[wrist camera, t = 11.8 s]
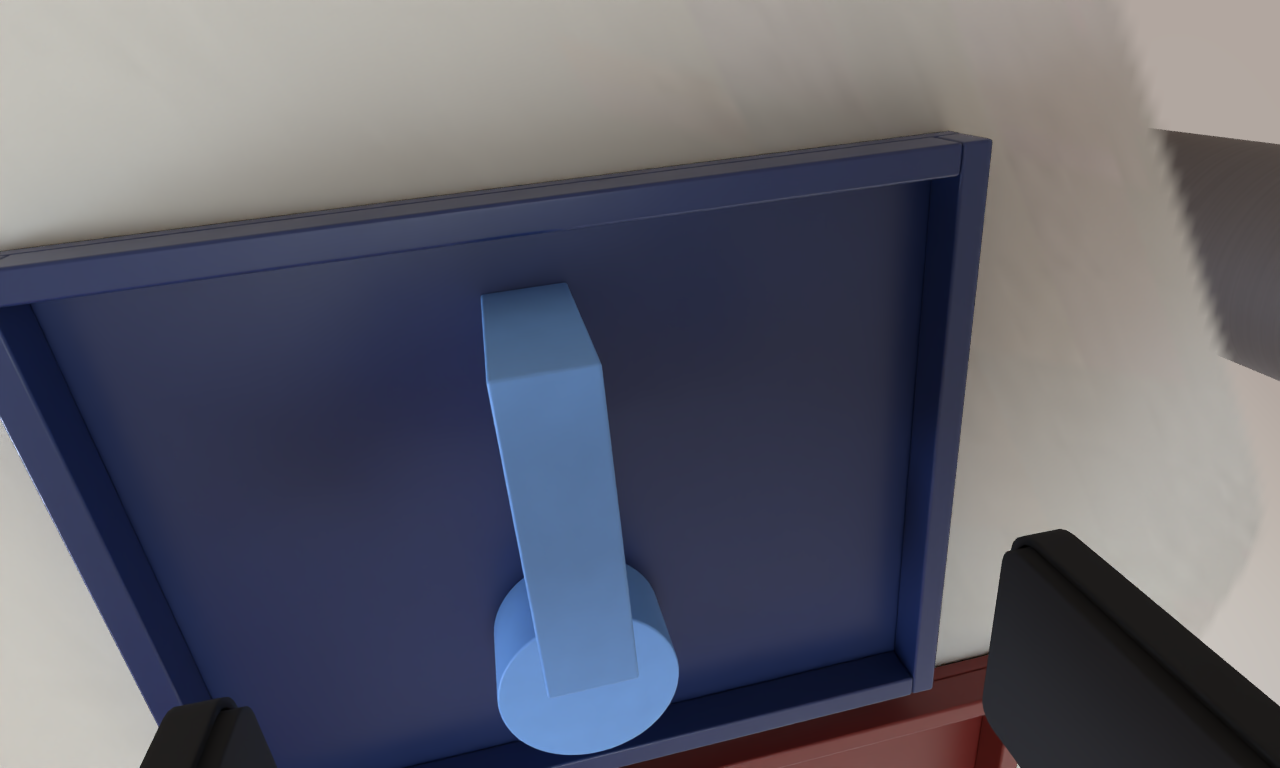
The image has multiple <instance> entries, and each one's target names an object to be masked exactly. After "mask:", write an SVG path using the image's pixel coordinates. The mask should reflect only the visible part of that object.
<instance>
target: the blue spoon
mask: <svg viewBox="0 0 1280 768" xmlns="http://www.w3.org/2000/svg"><path fill="white" fill-rule="evenodd" d="M481 310H482V325H483V340H484V354H485V369H486V384H487V389H488V394H489V399H490V405H491V410H492V415H493V420H494V425H495V430H496V435H497V441H498V446H499V451H500V456H501V461H502V466H503V471H504V477H505V482H506V487H507V492H508V497H509V502H510V507H511V513H512V518H513V523H514V528H515V533H516V538H517V543H518V549H519V554H520V559H521V564H522V569H523V574H524V578H523V579H522V580H520V581H519V582H518V583H517V584H516V585H515V586H514V587H513V588H512V589H511V590H510V592H509V593H508V594H507V596H506V597H505V598H504V600H503V602H502V604H501V605H500V607H499V610H498V613H497V615H496V619H495V624H494V645H495V665H496V684H497V701H498V708H499V711H500V714H501V717H502V719H503V721H504V723H505V725H506V726H507V727H508V729H509V730H510V731H511V732H512V733H513V734H514V735H515V736H516V737H517V738H518V739H519V740H521V741H523V742H524V743H526V744H527V745H529V746H531V747H534V748H536V749H539V750H542V751H545V752H549V753H554V754H563V755H581V754H590V753H595V752H600V751H604V750H607V749H610V748H613V747H616V746H618V745H621V744H623V743H625V742H627V741H629V740H631V739H633V738H635V737H636V736H638V735H639V734H641V733H642V732H644V731H645V730H646V729H648V728H649V727H650V726H651V725H652V724H653V723H654V722H655V721H657V720H658V719H659V717H660V716H661V715H662V714H663V713H664V711H665V710H666V708H667V707H668V705H669V704H670V702H671V700H672V698H673V696H674V694H675V691H676V688H677V684H678V678H679V665H678V659H677V656H676V653H675V650H674V647H673V644H672V641H671V638H670V636H669V633H668V630H667V627H666V624H665V621H664V618H663V615H662V613H661V610H660V607H659V604H658V601H657V598H656V595H655V593H654V590H653V589H652V587H651V585H650V583H649V582H648V581H647V580H646V579H645V577H644V576H643V575H641V574H640V573H639V572H638V571H637V570H635V569H634V568H632V567H631V566H629V565H627V564H626V563H625V555H624V546H623V538H622V530H621V521H620V513H619V505H618V496H617V488H616V480H615V471H614V463H613V455H612V446H611V438H610V430H609V421H608V413H607V404H606V396H605V388H604V379H603V371H602V364H601V362H600V360H599V357H598V355H597V353H596V350H595V348H594V346H593V343H592V341H591V339H590V336H589V334H588V332H587V329H586V327H585V325H584V322H583V320H582V318H581V315H580V313H579V311H578V308H577V306H576V304H575V301H574V299H573V297H572V294H571V292H570V290H569V287H568V285H567V283H557V284H550V285H543V286H537V287H530V288H523V289H516V290H510V291H503V292H496V293H489V294H483V295H481Z"/></svg>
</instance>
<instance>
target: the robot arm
mask: <svg viewBox="0 0 1280 768" xmlns="http://www.w3.org/2000/svg"><path fill="white" fill-rule="evenodd" d="M982 704H983V710H984V713H985V716H986V718H987V721H988V723H989V725H990V726H991V728H992V729H993V731H994V732H995V734H996V735H997V736H998V738H999V739H1000V740H1001V742H1002V743H1003V744H1004V746H1005V747H1006V748H1007V750H1008V751H1009V753H1010V754H1011V755H1012V757H1013V758H1014V759H1015V761H1016V762H1017V763H1018V765H1019V766H1020V767H1021V768H1280V706H1279V705H1277V704H1276V703H1275V702H1274V701H1273V700H1271V699H1270V698H1269V697H1268V696H1267V695H1265V694H1264V693H1263V692H1262V691H1261V690H1259V689H1258V688H1257V687H1256V686H1255V685H1253V684H1252V683H1251V682H1250V681H1249V680H1247V679H1246V678H1245V677H1244V676H1243V675H1241V674H1240V673H1239V672H1238V671H1237V670H1235V669H1234V668H1233V667H1232V666H1231V665H1229V664H1228V663H1227V662H1226V661H1224V660H1223V659H1222V658H1221V657H1220V656H1219V655H1217V654H1216V653H1215V652H1214V651H1213V650H1211V649H1210V648H1209V647H1208V646H1206V645H1205V644H1204V643H1203V642H1202V641H1201V640H1199V639H1198V638H1197V637H1196V636H1195V635H1193V634H1192V633H1191V632H1190V631H1189V630H1187V629H1186V628H1185V627H1184V626H1183V625H1181V624H1180V623H1179V622H1178V621H1177V620H1175V619H1174V618H1173V617H1172V616H1171V615H1169V614H1168V613H1167V612H1166V611H1165V610H1163V609H1162V608H1161V607H1160V606H1159V605H1157V604H1156V603H1155V602H1154V601H1153V600H1151V599H1150V598H1149V597H1148V596H1147V595H1145V594H1144V593H1143V592H1142V591H1141V590H1139V589H1138V588H1137V587H1136V586H1135V585H1133V584H1132V583H1131V582H1130V581H1129V580H1127V579H1126V578H1125V577H1124V576H1123V575H1121V574H1120V573H1119V572H1118V571H1117V570H1115V569H1114V568H1113V567H1112V566H1111V565H1109V564H1108V563H1107V562H1106V561H1105V560H1103V559H1102V558H1101V557H1100V556H1099V555H1097V554H1096V553H1095V552H1094V551H1093V550H1091V549H1090V548H1089V547H1088V546H1087V545H1085V544H1084V543H1083V542H1082V541H1081V540H1079V539H1078V538H1077V537H1076V536H1075V535H1073V534H1072V533H1070V532H1068V531H1067V530H1062V529H1057V530H1052V531H1047V532H1042V533H1037V534H1032V535H1027V536H1022V537H1019V538H1017V539H1016V540H1015V541H1014V542H1013V545H1012V548H1011V551H1007V552H1006V553H1005V554H1004V556H1003V560H1002V566H1001V573H1000V580H999V586H998V593H997V600H996V607H995V614H994V621H993V628H992V634H991V641H990V648H989V655H988V662H987V669H986V676H985V682H984V689H983V696H982ZM140 768H277V765H276V763H275V761H274V758H273V756H272V754H271V751H270V749H269V747H268V744H267V742H266V740H265V737H264V735H263V733H262V730H261V728H260V726H259V723H258V721H257V719H256V716H255V714H254V712H253V711H252V709H251V708H250V707H248V706H244V707H239V708H238V706H237V705H236V703H235V702H234V700H233V699H231V698H230V697H222V698H217V699H212V700H207V701H202V702H197V703H192V704H187V705H182V706H177V707H173V708H172V709H170V710H169V711H168V712H167V713H166V715H165V717H164V718H163V720H162V722H161V724H160V726H159V728H158V730H157V732H156V734H155V736H154V739H153V741H152V743H151V745H150V747H149V749H148V751H147V753H146V755H145V757H144V759H143V762H142V764H141V766H140Z"/></svg>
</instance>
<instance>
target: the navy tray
mask: <svg viewBox="0 0 1280 768" xmlns="http://www.w3.org/2000/svg"><path fill="white" fill-rule="evenodd" d="M991 151H992V140H991V139H988V138H983V137H977V136H972V135H966V134H960V133H957V132H952V131H945V132H937V133H929V134H921V135H914V136H906V137H898V138H890V139H882V140H874V141H866V142H859V143H851V144H843V145H835V146H827V147H819V148H811V149H803V150H796V151H788V152H780V153H772V154H764V155H756V156H748V157H740V158H733V159H725V160H717V161H709V162H701V163H693V164H685V165H677V166H670V167H662V168H654V169H646V170H638V171H630V172H622V173H614V174H607V175H599V176H591V177H583V178H575V179H567V180H559V181H551V182H544V183H536V184H528V185H520V186H512V187H504V188H496V189H488V190H481V191H473V192H465V193H457V194H449V195H441V196H433V197H426V198H418V199H410V200H402V201H394V202H386V203H378V204H370V205H363V206H355V207H347V208H339V209H331V210H323V211H315V212H307V213H300V214H292V215H284V216H276V217H268V218H260V219H252V220H244V221H237V222H229V223H221V224H213V225H205V226H197V227H189V228H181V229H174V230H166V231H158V232H150V233H142V234H134V235H126V236H118V237H111V238H103V239H95V240H87V241H79V242H71V243H63V244H56V245H48V246H40V247H32V248H24V249H16V250H8V251H0V419H1V421H2V423H3V425H4V427H5V429H6V431H7V433H8V435H9V437H10V439H11V441H12V443H13V445H14V447H15V449H16V450H17V452H18V454H19V456H20V458H21V460H22V462H23V464H24V466H25V468H26V470H27V472H28V474H29V476H30V478H31V480H32V482H33V484H34V485H35V487H36V489H37V491H38V493H39V495H40V497H41V499H42V501H43V503H44V505H45V507H46V509H47V511H48V513H49V515H50V517H51V519H52V520H53V522H54V524H55V526H56V528H57V530H58V532H59V534H60V536H61V538H62V540H63V542H64V544H65V546H66V548H67V550H68V552H69V554H70V556H71V557H72V559H73V561H74V563H75V565H76V567H77V569H78V571H79V573H80V575H81V577H82V579H83V581H84V583H85V585H86V587H87V589H88V591H89V592H90V594H91V596H92V598H93V600H94V602H95V604H96V606H97V608H98V610H99V612H100V614H101V616H102V618H103V620H104V622H105V624H106V626H107V627H108V629H109V631H110V633H111V635H112V637H113V639H114V641H115V643H116V645H117V647H118V649H119V651H120V653H121V655H122V657H123V659H124V661H125V662H126V664H127V666H128V668H129V670H130V672H131V674H132V676H133V678H134V680H135V682H136V684H137V686H138V688H139V690H140V692H141V694H142V696H143V698H144V699H145V701H146V703H147V705H148V707H149V709H150V711H151V713H152V715H153V717H154V719H155V721H156V723H157V725H158V727H159V726H160V724H161V722H162V720H163V718H164V717H165V715H166V713H167V712H168V711H169V710H170V709H172V708H173V707H177V706H182V705H187V704H192V703H197V702H202V701H207V700H212V699H217V698H222V697H230V698H231V699H233V700H234V702H235V703H236V705H237V706H238V708H239V707H244V706H248V707H250V708H251V709H252V711H253V712H254V714H255V716H256V719H257V721H258V723H259V726H260V728H261V730H262V733H263V735H264V737H265V740H266V742H267V744H268V747H269V749H270V751H271V754H272V756H273V758H274V761H275V763H276V765H277V768H619V767H623V766H627V765H631V764H635V763H639V762H643V761H647V760H651V759H655V758H659V757H663V756H667V755H671V754H675V753H679V752H683V751H687V750H691V749H695V748H699V747H703V746H707V745H711V744H715V743H719V742H723V741H727V740H731V739H735V738H739V737H743V736H747V735H751V734H755V733H759V732H763V731H767V730H771V729H775V728H779V727H783V726H787V725H791V724H795V723H799V722H803V721H807V720H811V719H815V718H819V717H823V716H827V715H831V714H835V713H839V712H843V711H847V710H851V709H855V708H859V707H863V706H867V705H871V704H875V703H879V702H883V701H887V700H891V699H895V698H899V697H903V696H907V695H910V694H911V692H912V693H918V692H922V691H926V690H930V689H932V687H933V678H934V669H935V660H936V651H937V642H938V632H939V623H940V614H941V605H942V596H943V587H944V578H945V569H946V560H947V551H948V542H949V533H950V523H951V514H952V505H953V496H954V487H955V478H956V469H957V460H958V451H959V442H960V433H961V423H962V414H963V405H964V396H965V387H966V378H967V369H968V360H969V351H970V342H971V333H972V324H973V314H974V305H975V296H976V287H977V278H978V269H979V260H980V251H981V242H982V233H983V224H984V215H985V205H986V196H987V187H988V178H989V169H990V160H991ZM557 283H567V285H568V287H569V290H570V292H571V294H572V297H573V299H574V301H575V304H576V306H577V308H578V311H579V313H580V315H581V318H582V320H583V322H584V325H585V327H586V329H587V332H588V334H589V336H590V339H591V341H592V343H593V346H594V348H595V350H596V353H597V355H598V357H599V360H600V362H601V364H602V371H603V379H604V388H605V396H606V404H607V413H608V421H609V430H610V438H611V446H612V455H613V463H614V471H615V480H616V488H617V496H618V505H619V513H620V521H621V530H622V538H623V546H624V555H625V563H626V564H627V565H629V566H631V567H632V568H634V569H635V570H637V571H638V572H639V573H640V574H641V575H643V576H644V577H645V579H646V580H647V581H648V582H649V583H650V585H651V587H652V589H653V590H654V593H655V595H656V598H657V601H658V604H659V607H660V610H661V613H662V615H663V618H664V621H665V624H666V627H667V630H668V633H669V636H670V638H671V641H672V644H673V647H674V650H675V653H676V656H677V659H678V665H679V678H678V684H677V688H676V691H675V694H674V696H673V698H672V700H671V702H670V704H669V705H668V707H667V708H666V710H665V711H664V713H663V714H662V715H661V716H660V717H659V719H658V720H657V721H655V722H654V723H653V724H652V725H651V726H650V727H649V728H648V729H646V730H645V731H644V732H642V733H641V734H639V735H638V736H636V737H635V738H633V739H631V740H629V741H627V742H625V743H623V744H621V745H618V746H616V747H613V748H610V749H607V750H604V751H600V752H595V753H590V754H581V755H563V754H554V753H549V752H545V751H542V750H539V749H536V748H534V747H531V746H529V745H527V744H526V743H524V742H523V741H521V740H519V739H518V738H517V737H516V736H515V735H514V734H513V733H512V732H511V731H510V730H509V729H508V727H507V726H506V725H505V723H504V721H503V719H502V717H501V714H500V711H499V708H498V701H497V684H496V665H495V645H494V624H495V619H496V615H497V613H498V610H499V607H500V605H501V604H502V602H503V600H504V598H505V597H506V596H507V594H508V593H509V592H510V590H511V589H512V588H513V587H514V586H515V585H516V584H517V583H518V582H519V581H520V580H522V579H523V578H524V574H523V569H522V564H521V559H520V554H519V549H518V543H517V538H516V533H515V528H514V523H513V518H512V513H511V507H510V502H509V497H508V492H507V487H506V482H505V477H504V471H503V466H502V461H501V456H500V451H499V446H498V441H497V435H496V430H495V425H494V420H493V415H492V410H491V405H490V399H489V394H488V389H487V384H486V369H485V354H484V340H483V325H482V310H481V295H483V294H489V293H496V292H503V291H510V290H516V289H523V288H530V287H537V286H543V285H550V284H557Z"/></svg>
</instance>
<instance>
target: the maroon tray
mask: <svg viewBox="0 0 1280 768" xmlns="http://www.w3.org/2000/svg"><path fill="white" fill-rule="evenodd" d="M987 662H988V655H985V656H981V657H977V658H973V659H969V660H965V661H961V662H957V663H952V664H948V665H944V666H940V667H936V668H935V669H934V678H933V687H932V689H930V690H926V691H922V692H918V693H912V692H911V694H910V695H907V696H903V697H899V698H895V699H891V700H887V701H883V702H879V703H875V704H871V705H867V706H863V707H859V708H855V709H851V710H847V711H843V712H839V713H835V714H831V715H827V716H823V717H819V718H815V719H811V720H807V721H803V722H799V723H795V724H791V725H787V726H783V727H779V728H775V729H771V730H767V731H763V732H759V733H755V734H751V735H747V736H743V737H739V738H735V739H731V740H727V741H723V742H719V743H715V744H711V745H707V746H703V747H699V748H695V749H691V750H687V751H683V752H679V753H675V754H671V755H667V756H663V757H659V758H655V759H651V760H647V761H643V762H639V763H635V764H631V765H627V766H623V767H619V768H1016V767H1017V762H1016V761H1015V759H1014V758H1013V757H1012V755H1011V754H1010V753H1009V751H1008V750H1007V748H1006V747H1005V746H1004V744H1003V743H1002V742H1001V740H1000V739H999V738H998V736H997V735H996V734H995V732H994V731H993V729H992V728H991V726H990V725H989V723H988V721H987V718H986V716H985V713H984V710H983V704H982V696H983V689H984V682H985V676H986V669H987Z"/></svg>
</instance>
